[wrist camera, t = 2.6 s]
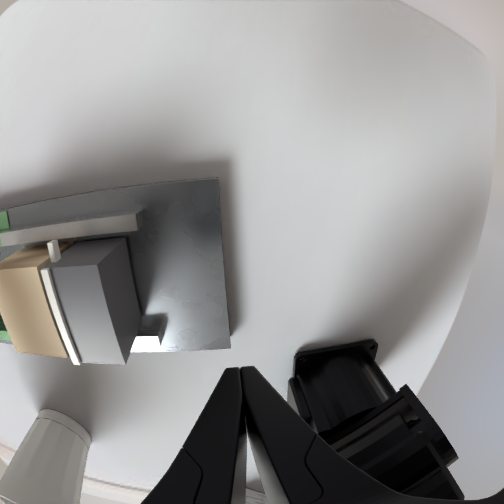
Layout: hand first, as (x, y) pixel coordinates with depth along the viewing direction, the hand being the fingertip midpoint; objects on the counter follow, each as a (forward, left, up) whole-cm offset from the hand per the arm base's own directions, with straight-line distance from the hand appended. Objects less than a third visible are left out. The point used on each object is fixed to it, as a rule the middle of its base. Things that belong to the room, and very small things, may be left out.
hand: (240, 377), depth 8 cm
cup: (+19, +17, -9) cm, 27 cm away
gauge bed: (+11, 0, -9) cm, 14 cm away
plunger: (+7, -1, -8) cm, 10 cm away
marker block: (+11, 0, -8) cm, 13 cm away
